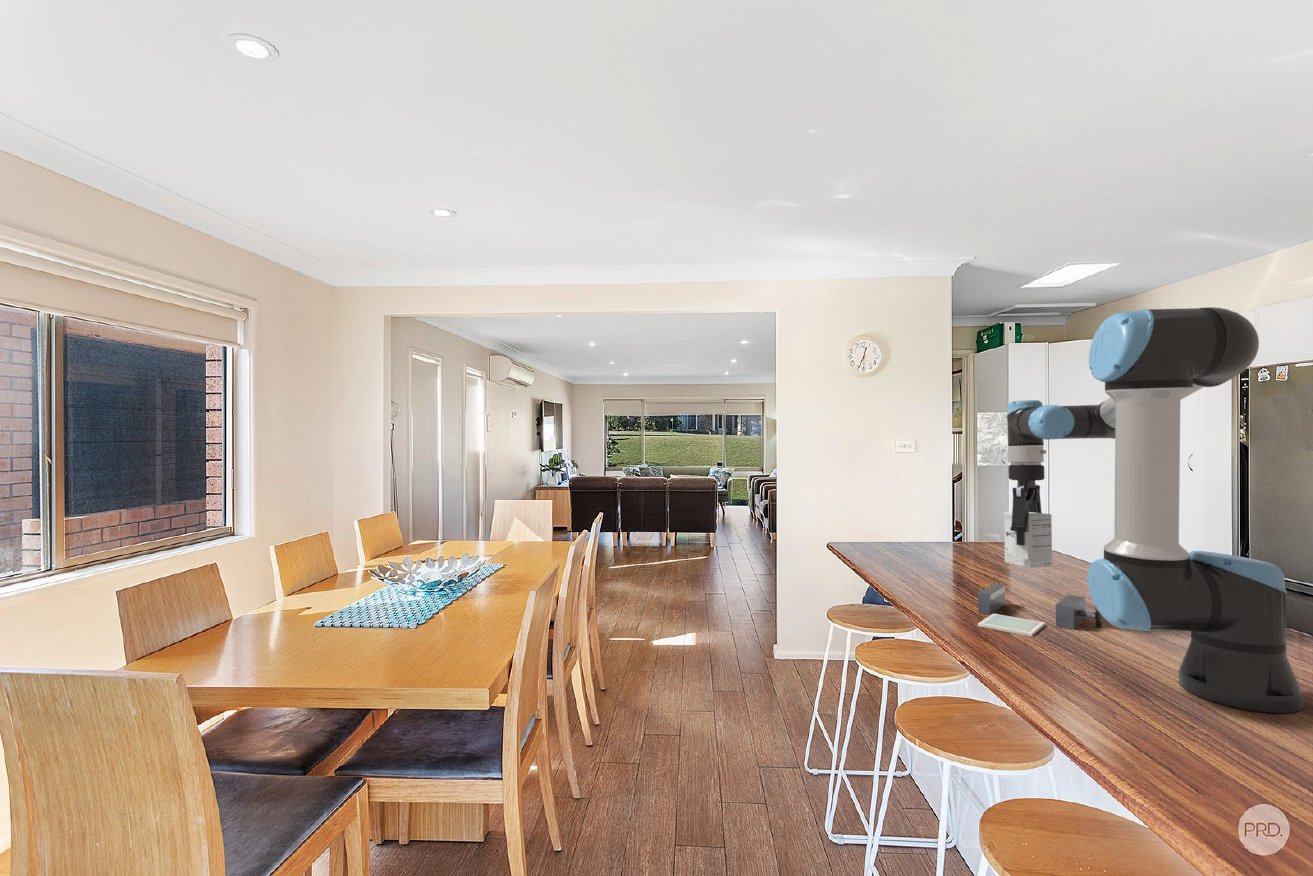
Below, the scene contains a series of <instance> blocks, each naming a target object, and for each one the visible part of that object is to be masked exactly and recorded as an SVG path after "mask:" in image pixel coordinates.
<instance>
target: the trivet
mask: <svg viewBox="0 0 1313 876" xmlns="http://www.w3.org/2000/svg"><path fill="white" fill-rule="evenodd" d="M1045 626H1046V622H1044V621H1038V620H1033V619H1028V618H1027V619H1026V618H1020V617H1015V616H1010V615H1009V616H1008V615H1003V614H999V613H991V614H990V615H988V616H987V617H985V618H984V619H982V620H981V621H979V622H978V623H977V627H980V628H981V627H982V628H985V629H991V630H997V631H1001V632H1007V633H1012V634H1016V635H1022V636H1027V637H1033V636H1035V635H1036V633H1038V632H1039V631H1040V630H1042V629H1043V628H1044V627H1045Z"/></svg>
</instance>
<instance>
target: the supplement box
mask: <svg viewBox="0 0 1313 876" xmlns="http://www.w3.org/2000/svg"><path fill="white" fill-rule="evenodd" d="M1003 515H1004V516H1003V517H1004V518H1003V520H1004V523H1003V524H1004V525H1003V526H1004V527H1003V529H1004V530H1003V531H1004V534H1003V535H1004V563H1005V564H1011V565H1016V566H1021V567H1025V568H1028V569H1035V568H1037V569H1038V568H1046V567H1047V568H1048V567H1052V566H1053V543H1052V542H1053V541H1052V539H1053V537H1052V531H1053V529H1052V526H1053V525H1052V524H1053V523H1052V518H1053V517H1052V514H1051V513H1050V514H1049V513H1035V512H1029V515H1028V516H1027V517H1028V524H1027V531H1026V532H1028V537H1029V559H1028V560H1027V559H1018V558H1015V531H1011V530H1010V527H1011V526H1012V511H1004V513H1003Z"/></svg>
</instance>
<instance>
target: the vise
mask: <svg viewBox="0 0 1313 876" xmlns="http://www.w3.org/2000/svg"><path fill="white" fill-rule="evenodd" d="M1005 592H1006V585H1003V584H997V583H996V584H995V583H993V584H991V585H990V586H988V587H986V588H984V589H982V590H980V591H978V592H977V597H978V598H977V604H978V606H977V607H978V613H979V614H982V615H988V616H990V615H992V614H994V613H995V612H996V611H997V610H999V609H1001V608H1002V607H1004V606H1005V604H1006V601H1005V599H1006V598H1005ZM1086 600H1087V598H1086V596H1081V595H1073V594H1072V595H1071V594H1067V595H1065V596H1064V597H1062V598H1061V599H1060V600H1058V601H1057V602H1055V603H1054V611H1055V627H1058V628H1062V629H1063V628H1064V629H1069V630H1073V631H1074V630H1075V629H1076V628H1077V627H1079V626H1080V624H1081V623H1083V622H1084V620H1085V619H1087V618H1091V619H1095V627H1096V628H1102V615H1101V614H1100V612H1099V611H1098V609H1097V607H1096V606H1095V605H1094V606H1095V607H1094V608H1095V611H1089V610H1087V609H1086V605H1087V604H1086V602H1087V601H1086Z"/></svg>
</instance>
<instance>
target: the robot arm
mask: <svg viewBox="0 0 1313 876" xmlns="http://www.w3.org/2000/svg"><path fill="white" fill-rule="evenodd" d="M1259 339H1260V338H1259V335H1258V332H1257V330H1256V329H1255V326H1254V325H1253V324H1252V323H1251V321H1250V320H1249V319H1247V318H1246V317H1245V316H1243V315H1242V314H1241V313H1238V312H1235V311H1233V310H1230V309H1227V308H1223V307H1210V306H1209V307H1207V306H1206V307H1198V308H1195V307H1194V308H1191V307H1190V308H1160V309H1159V308H1155V309H1153V308H1152V309H1151V308H1150V309H1147V308H1145V309H1139V310H1132V311H1131V310H1129V311H1122V312H1117V313H1114V314H1112V315H1110V316H1109V317H1107V318H1106V319H1105V320H1104V321H1103V322H1102V323H1101V324H1100V325H1099V328H1098V329H1097V330H1096V332H1095V334H1094V336H1093V338H1092V341H1091V343H1090V346H1089V347H1090V348H1089V352H1088V366H1089V369H1090V371H1091V375H1092V377H1093V378H1094V379H1095V380H1097V381H1099V382H1102V383H1104V393H1105V394H1107V395H1108V396H1109V398H1107V399H1105V400H1104V401H1102V402H1100V403H1099V404H1093V405H1092V404H1088V405H1087V404H1086V405H1083V404H1082V405H1080V404H1079V405H1057V404H1047V405H1043V403H1042V401H1041V400H1040V399H1038V400H1037V399H1030V400H1029V399H1025V400H1023V399H1022V400H1013V401H1010V402H1008V404H1007V409H1006V411H1007V412H1006V424H1007V462H1008V463H1010V464H1009V466H1008V479H1009V480H1011V481H1017V483H1016V484H1017V487H1013V488H1012V511H1011V512H1012V526H1011V527H1010V530H1011V531H1015V558H1018V559H1027V560H1028V559H1029V537H1028V532H1026V531H1027V524H1028V517H1027V516H1028V515H1029V512H1035V513H1042V502H1041V489H1040V488H1041V487H1040V484H1036V481H1037V482H1038V481H1044V480H1045V466H1044V465H1043V464H1041V463H1044V461H1045V456H1044V455H1046V454H1047V450H1046V449H1044V445H1045V444H1044V443H1045V442H1044V440H1049V441H1050V440H1065V439H1066V440H1069V439H1074V440H1075V439H1113V440H1115V441H1114V449H1115V451H1114V538H1112V539H1111V540H1110V541H1108V542H1107V543H1106V544H1105V545H1104V546H1103V558H1098V559H1096V560H1094V561H1092V562H1091V564H1089V565H1090V566H1089V567H1088V571H1087V585H1088V591H1089V594H1090V597H1091V599H1092V602H1093V603H1094V606H1096V607H1097V609H1098V611H1099V612H1100V614H1101V617H1103V619H1104V620H1105V621H1106V622H1108V623H1109V624H1110V625H1112V626H1113V627H1116V628H1119V629H1122V630H1123V629H1124V630H1134V631H1135V630H1136V631H1140V632H1148V631H1159V632H1160V631H1161V632H1162V631H1163V632H1164V631H1165V632H1169V631H1170V632H1190V643H1189V645H1188V647H1187V649H1186V652H1185V653H1184V656H1183V659H1182V660H1181V664H1180V666H1179V669H1178V684H1179V686H1180V687H1181V688H1182V689H1184V690H1185V691H1187V692H1188V693H1191V694H1192V695H1195V696H1197V697H1200V698H1202V699H1205V700H1206V701H1207V700H1208V701H1211V702H1214V703H1217V704H1220V705H1225V706H1228V707H1231V708H1232V707H1233V708H1238V709H1242V710H1247V711H1254V712H1262V713H1269V714H1270V713H1273V714H1290V713H1296V712H1297V713H1298V712H1299V711H1301V710H1303V709H1304V694H1303V691H1302V688H1301V686H1300V684H1299V681H1298V679H1297V677H1296V675H1295V672H1294V670H1293V668H1292V666H1291V663H1290V661H1289V659H1288V655H1287V625H1286V624H1287V619H1286V614H1287V613H1286V595H1287V594H1288V591H1287V589H1286V583H1285V573H1284V572H1283V570H1282V569H1281V568H1280V567H1279V566H1277V565H1276V564H1273V563H1272V562H1267V561H1265V560H1260V559H1259V560H1258V559H1254V558H1249V557H1244V556H1238V555H1234V554H1233V555H1232V554H1226V553H1221V552H1220V553H1219V552H1212V551H1204V550H1203V551H1202V550H1191V551H1189V552H1188V550H1186V549H1185V548H1184V547H1183V546H1181V544H1180V478H1181V477H1180V474H1181V473H1180V472H1181V470H1180V469H1181V468H1180V467H1181V466H1180V463H1181V459H1180V458H1181V400H1183V399H1185V398H1187V397H1189V396H1190V395H1193V394H1194V393H1196V392H1197V391H1200V390H1201V389H1202V388H1203V389H1204V388H1214V387H1219V386H1220V385H1223V384H1225V383H1226V382H1227V383H1228V381H1231V380H1232V379H1235V378H1237V376H1239V375H1241V374H1242V373H1243V372H1245V371H1246V370H1247V369H1248V368H1249V367H1250V366H1251V365H1252V363H1253V361H1255V359H1256V357H1257V354H1258V352H1259V345H1260V344H1259V343H1260V341H1259Z"/></svg>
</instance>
